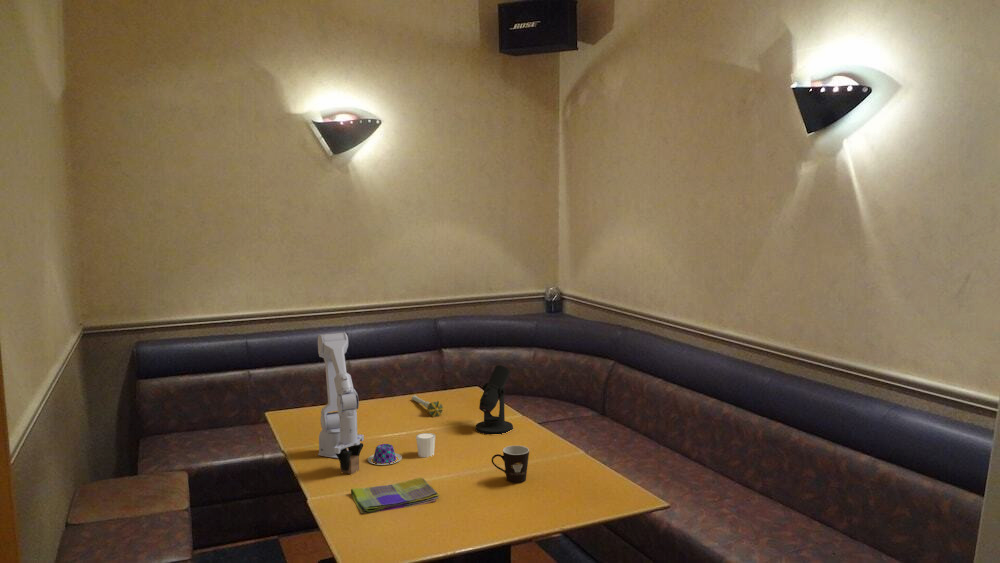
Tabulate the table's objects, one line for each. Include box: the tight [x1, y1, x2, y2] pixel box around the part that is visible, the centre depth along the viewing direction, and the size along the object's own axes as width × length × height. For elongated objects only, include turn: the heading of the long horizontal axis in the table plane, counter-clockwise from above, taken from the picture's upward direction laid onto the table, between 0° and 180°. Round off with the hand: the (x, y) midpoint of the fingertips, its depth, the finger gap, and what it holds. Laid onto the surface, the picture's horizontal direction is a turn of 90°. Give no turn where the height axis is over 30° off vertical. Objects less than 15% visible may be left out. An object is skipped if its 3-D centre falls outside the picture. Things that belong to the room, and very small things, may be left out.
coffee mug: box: [491, 445, 530, 484], centre depth 238 cm, size 12×9×10 cm
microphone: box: [475, 364, 514, 435], centre depth 288 cm, size 15×17×25 cm
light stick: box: [411, 394, 445, 418], centre depth 317 cm, size 7×6×30 cm
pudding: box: [367, 443, 403, 466], centre depth 256 cm, size 12×12×5 cm
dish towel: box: [350, 477, 441, 515], centre depth 224 cm, size 18×24×3 cm
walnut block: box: [339, 455, 360, 475], centre depth 245 cm, size 4×4×5 cm
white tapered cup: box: [415, 432, 436, 458], centre depth 261 cm, size 7×7×7 cm
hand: (349, 467), depth 245 cm, fingers closed on walnut block, 4 cm apart
